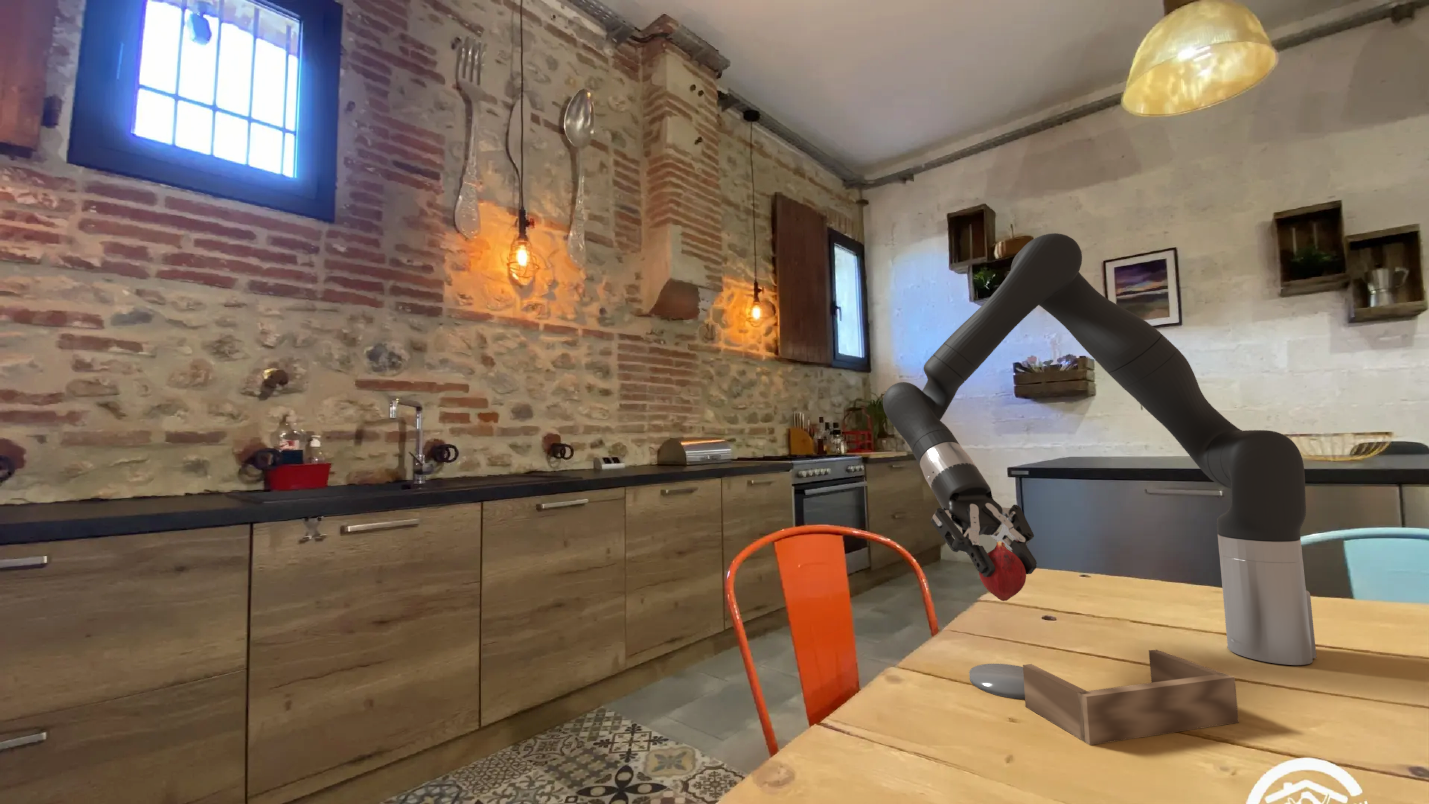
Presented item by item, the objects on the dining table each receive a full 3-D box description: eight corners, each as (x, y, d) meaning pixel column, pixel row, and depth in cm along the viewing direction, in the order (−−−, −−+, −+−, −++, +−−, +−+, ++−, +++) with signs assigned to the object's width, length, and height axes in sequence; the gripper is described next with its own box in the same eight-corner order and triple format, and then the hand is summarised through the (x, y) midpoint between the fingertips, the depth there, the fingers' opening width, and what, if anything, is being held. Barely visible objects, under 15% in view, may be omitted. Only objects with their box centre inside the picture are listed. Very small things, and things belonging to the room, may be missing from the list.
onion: (1033, 607, 77) (1030, 545, 78) (986, 606, 78) (983, 545, 79) (1020, 595, 83) (1016, 538, 83) (976, 594, 84) (973, 538, 84)
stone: (1016, 666, 85) (1015, 660, 85) (1070, 694, 76) (1070, 687, 76) (954, 673, 83) (954, 667, 83) (1002, 703, 74) (1002, 696, 74)
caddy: (1159, 689, 77) (1156, 649, 77) (1238, 722, 67) (1234, 677, 68) (1025, 706, 72) (1022, 664, 73) (1089, 744, 63) (1086, 696, 63)
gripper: (920, 462, 88) (975, 559, 75) (1005, 460, 91) (1071, 552, 78) (903, 495, 92) (952, 591, 80) (984, 492, 95) (1044, 584, 83)
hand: (1011, 571), depth 79 cm, fingers closed on onion, 5 cm apart
